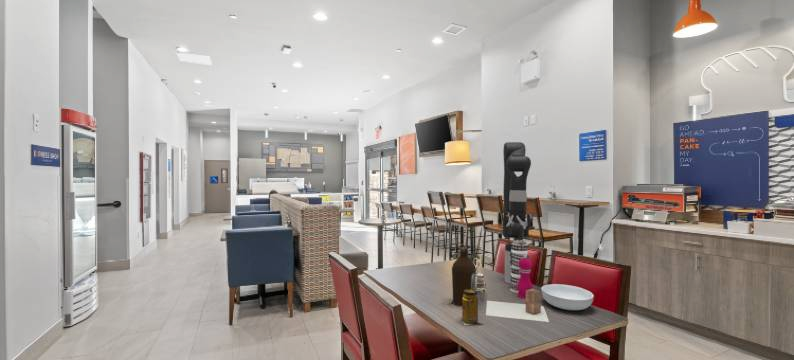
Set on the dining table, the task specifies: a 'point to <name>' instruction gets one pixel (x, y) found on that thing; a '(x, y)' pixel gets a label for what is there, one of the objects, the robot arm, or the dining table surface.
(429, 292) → the dining table surface
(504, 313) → the rubber mat
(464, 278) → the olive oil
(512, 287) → the decorative candle
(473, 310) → the condiment
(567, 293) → the serving bowl
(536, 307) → the walnut block
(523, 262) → the pepper mill
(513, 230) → the robot arm
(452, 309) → the dining table surface
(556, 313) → the dining table surface
